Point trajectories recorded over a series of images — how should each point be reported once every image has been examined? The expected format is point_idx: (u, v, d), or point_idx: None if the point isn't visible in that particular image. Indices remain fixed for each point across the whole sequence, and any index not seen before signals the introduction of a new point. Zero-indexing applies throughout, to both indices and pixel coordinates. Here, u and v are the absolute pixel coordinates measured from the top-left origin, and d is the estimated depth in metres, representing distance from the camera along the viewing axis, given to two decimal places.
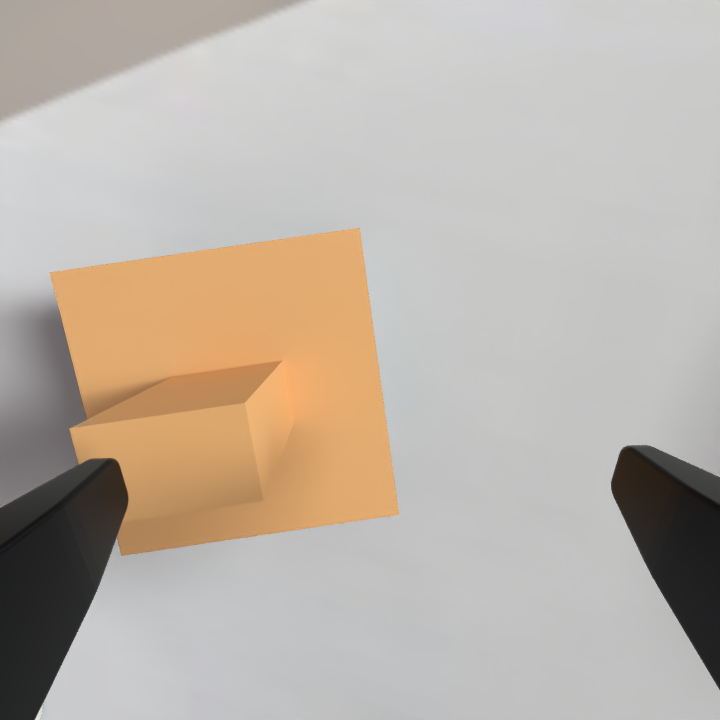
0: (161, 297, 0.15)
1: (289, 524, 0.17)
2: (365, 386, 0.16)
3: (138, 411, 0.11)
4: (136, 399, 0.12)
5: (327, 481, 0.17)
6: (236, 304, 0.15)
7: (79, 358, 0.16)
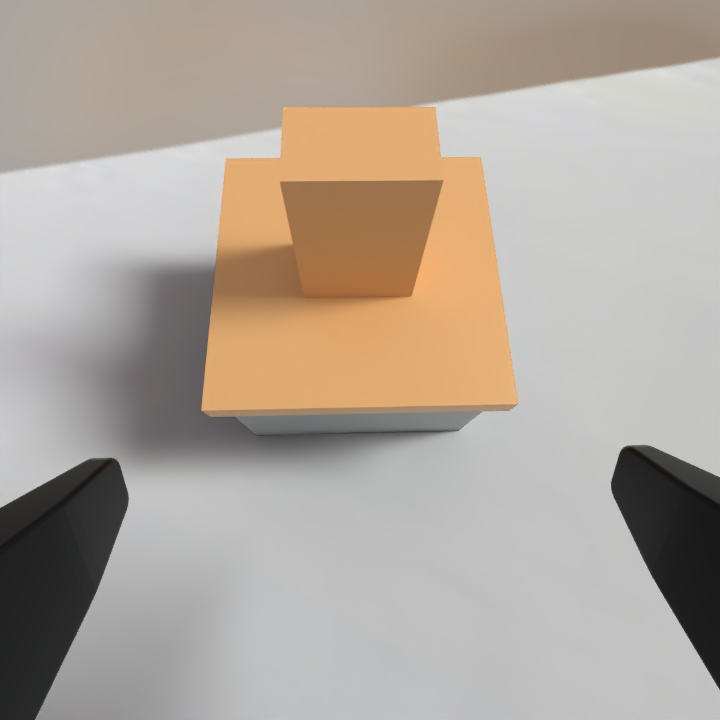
0: None
1: (395, 399, 0.15)
2: (483, 271, 0.17)
3: None
4: None
5: (440, 357, 0.16)
6: None
7: (226, 219, 0.17)
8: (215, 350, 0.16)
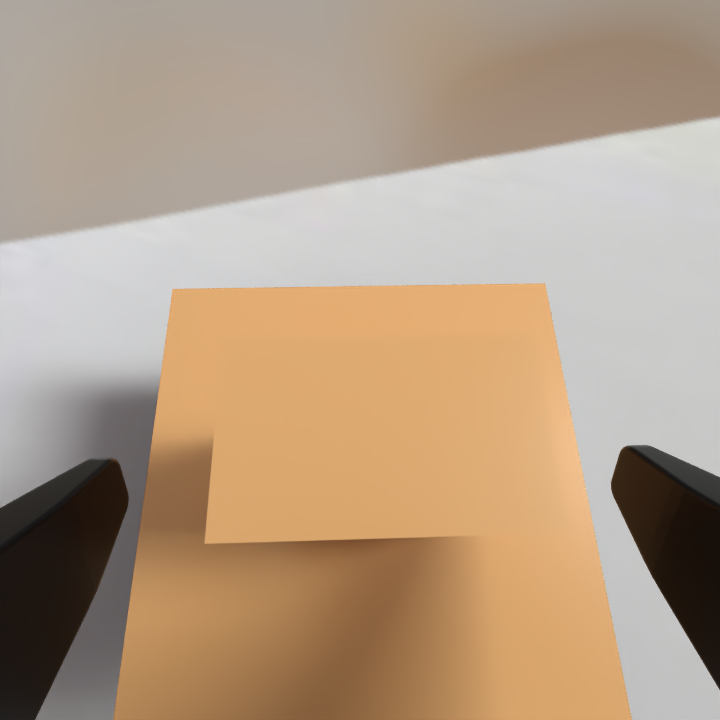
0: (297, 330, 0.12)
1: None
2: (561, 481, 0.11)
3: None
4: None
5: (503, 645, 0.10)
6: None
7: (168, 392, 0.12)
8: (138, 636, 0.10)
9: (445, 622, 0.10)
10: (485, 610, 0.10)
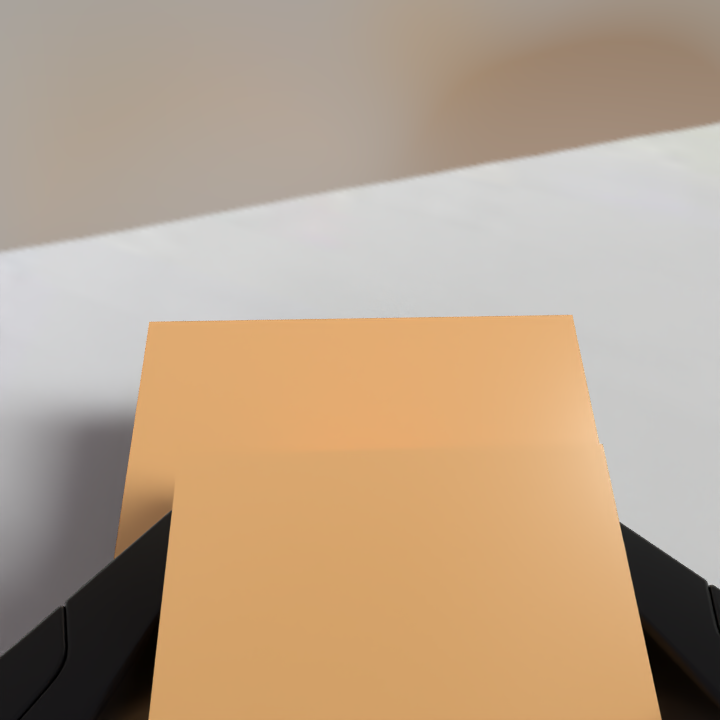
0: (290, 370, 0.11)
1: None
2: None
3: None
4: None
5: None
6: (396, 392, 0.11)
7: (142, 445, 0.10)
8: None
9: None
10: None
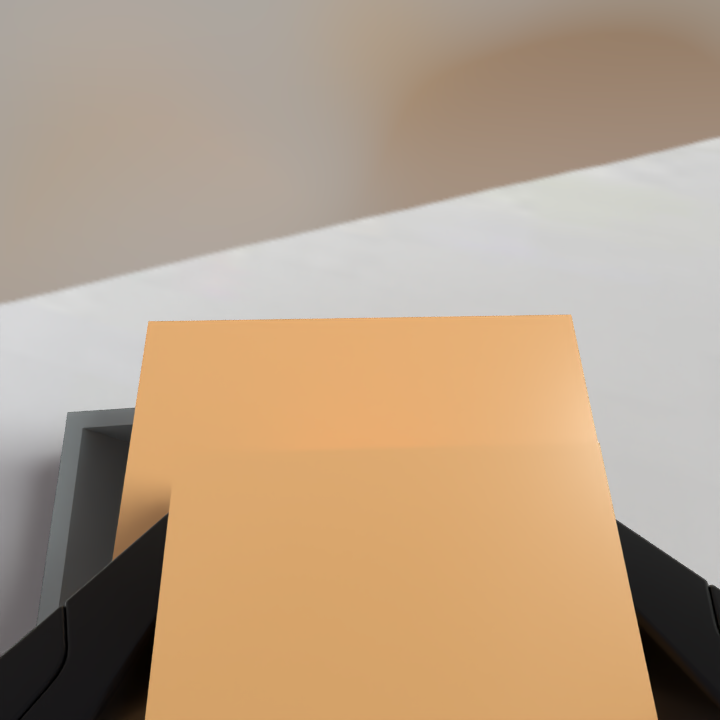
0: (289, 370, 0.11)
1: None
2: None
3: None
4: None
5: None
6: (394, 392, 0.11)
7: (141, 444, 0.10)
8: None
9: None
10: None
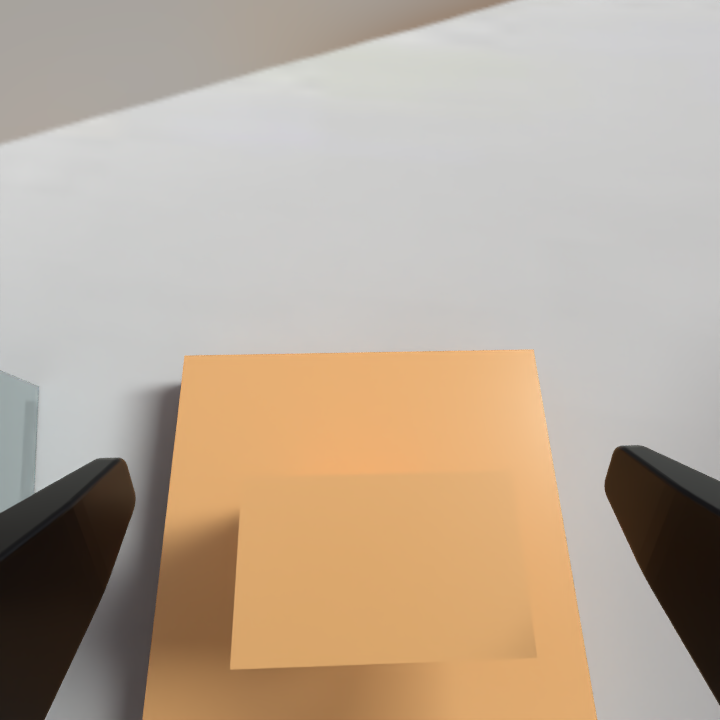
0: (301, 396, 0.13)
1: None
2: (545, 543, 0.12)
3: None
4: None
5: (490, 700, 0.11)
6: (387, 415, 0.13)
7: (181, 457, 0.12)
8: (157, 692, 0.11)
9: (437, 678, 0.11)
10: (474, 667, 0.11)
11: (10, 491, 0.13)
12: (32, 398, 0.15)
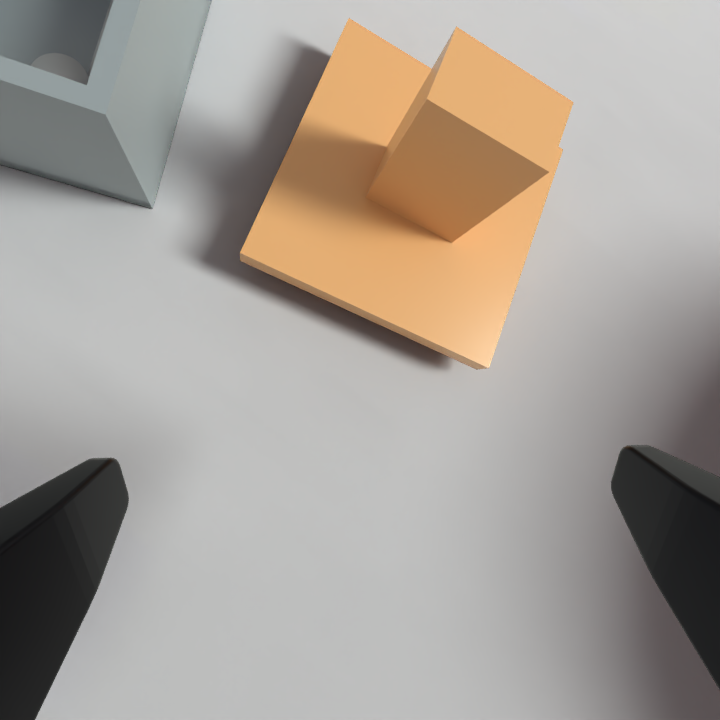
0: (414, 92, 0.18)
1: (401, 320, 0.17)
2: (515, 251, 0.19)
3: None
4: None
5: (450, 304, 0.18)
6: None
7: (326, 83, 0.17)
8: (271, 205, 0.16)
9: (428, 281, 0.18)
10: (449, 286, 0.18)
11: (190, 44, 0.17)
12: None
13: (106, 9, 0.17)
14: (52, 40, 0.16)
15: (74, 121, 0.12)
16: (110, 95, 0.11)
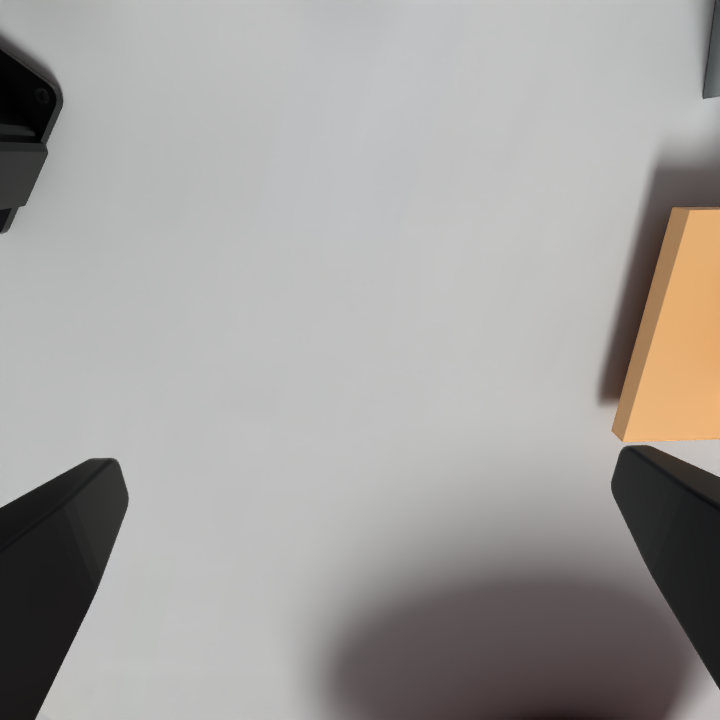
0: None
1: (650, 363, 0.20)
2: None
3: None
4: None
5: (672, 396, 0.20)
6: None
7: None
8: None
9: (690, 372, 0.20)
10: (689, 390, 0.20)
11: None
12: None
13: None
14: None
15: None
16: None
